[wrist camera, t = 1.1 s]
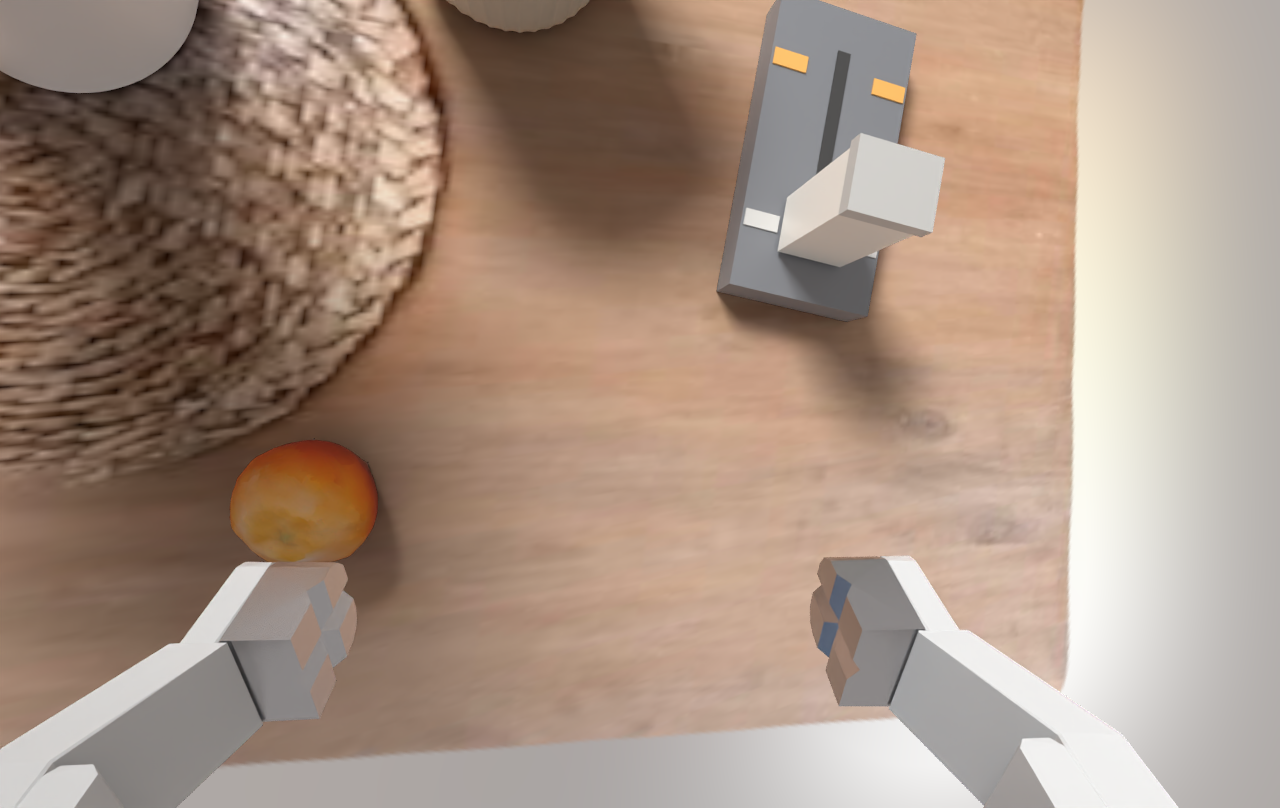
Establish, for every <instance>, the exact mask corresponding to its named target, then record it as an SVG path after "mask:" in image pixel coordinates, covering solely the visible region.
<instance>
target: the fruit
mask: <svg viewBox="0 0 1280 808" xmlns="http://www.w3.org/2000/svg"><path fill="white" fill-rule="evenodd" d="M377 509H378V495H377V489H376V486H375V482H374V479H373V476H372V474H371V472H370V470H369V466H368V462H365V461H364V460H362V459H361V458H360V457H358V456H357V455H356V454H354V453H353V452H352V451H350V450H349V449H347V448H345V447H343V446H341V445H339V444H336V443H332V442H328V441H320V440H315V438H314V439H313V440H305V441H299V442H294V443H289V444H285V445H282V446H279V447H276V448H273V449H271V450H269V451H267V452H265V453H263V454H261V455H259V456H257V457H256V458H254V459H253V460H252V461H251V462H250V463H249V464H248V466H247V467H246V468H245V469H244V471H243V472H242V473H241V474H240V475H239V476H238V478H237V480H236V485H235V487H234V489H233V492H232V497H231V503H230V520H231V527H232V529H233V531H234V532H235V533H236V534H237V536H238V537H239V538H241V539H242V540H243V542H244V543H246V544H247V546H248V547H249V548H250V549H251V550H252V551H253V552H254V553H255V554H257V555H258V556H260V557H261V558H263V559H264V560H266V561H267V562H333V561H337V560H340V559H343V558H346V557H348V556H350V555H351V554H353V552H354V551H355V550H356V549H357V548H358V547H359V546H360V545H362V544H363V542H364V541H365V539H366V538H367V536H368V535H369V533H370V532H371V530H372V528H373V526H374V523H375V520H376V516H377Z"/></svg>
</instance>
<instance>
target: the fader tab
mask: <svg viewBox="0 0 1280 808" xmlns="http://www.w3.org/2000/svg"><path fill="white" fill-rule="evenodd" d="M944 162H945V158H943V157H940V156H936V155H933V154H930V153H926V152H923V151H920V150H916V149H913V148H910V147H906V146H903V145H900V144H896V143H893V142H890V141H886V140H883V139H880V138H876V137H873V136H870V135H866V134H863V133H860V134H859V135H858V136H856V137H855V138H854V139H853V140H851V146H850V148H849V149H848V150H847V151H845V152H844V153H843V154H842V155H840V156H839V157H838V158H837V159H835V160H834V161H833V162H832V163H830V164H829V165H828V166H826V167H825V168H824V169H823V170H821V171H820V172H819V173H818V174H816V175H815V176H814V177H812V178H811V179H810V180H809V181H807V182H806V183H805V184H804V185H802V186H801V187H800V188H799V189H797V190H796V191H795V192H793V193H792V194H791V195H790V196H788V197H787V201H786V206H785V212H784V218H783V223H782V229H781V234H780V240H779V245H778V252H782V253H786V254H790V255H794V256H798V257H802V258H806V259H810V260H813V261H817V262H821V263H825V264H829V265H833V266H837V267H842V266H844V265H847V264H849V263H851V262H853V261H856V260H858V259H860V258H863V257H865V256H867V255H870V254H872V253H874V252H876V251H879V250H881V249H883V248H886V247H888V246H890V245H893V244H895V243H897V242H899V241H902V240H904V239H906V238H909V237H911V236H913V235H915V236H919V237H923V236H925V235H928V234H930V233H932V232H933V226H934V220H935V215H936V209H937V203H938V197H939V191H940V185H941V179H942V173H943V168H944Z"/></svg>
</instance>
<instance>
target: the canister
mask: <svg viewBox="0 0 1280 808" xmlns="http://www.w3.org/2000/svg"><path fill="white" fill-rule="evenodd" d="M446 1H447V2H449V3H450V4H452V5H454V6H455V7H456V8H457V9H458V10H459V11H460V12H461V13H462V14H466V15H468V16H470V17H471V18H473V20H475V21H476V22H481V23H484V24H486V25H488V26H489V27H490V28H499V29H502V30H503V31H516V32H519V33H521V32H525V31H532V32H536V31H538V30H540V29H549V28H551V27H552V26H554V25H557V24H562V23H563V22H564V21H565V20H566V19H567V18H570V17H573V16H575V15H576V14H577V12H578V11H579V10H580V9H581V8H583V7H585V6H586V5H587V4H588V2H589V0H446Z"/></svg>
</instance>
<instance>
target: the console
mask: <svg viewBox="0 0 1280 808" xmlns="http://www.w3.org/2000/svg"><path fill="white" fill-rule="evenodd" d="M915 40H916V33H913V32H910V31H907V30H904V29H901V28H898V27H895V26H892V25H890V24H887V23H884V22H881V21H878V20H875V19H872V18H869V17H866V16H863V15H860V14H857V13H854V12H851V11H848V10H845V9H843V8H840V7H837V6H834V5H831V4H828V3H825V2H822V1H819V0H776V1H775V3H774V4H773V6H772V7H771V9H770V11H769V12H768V14H767V17H766V23H765V28H764V34H763V39H762V45H761V50H760V56H759V61H758V67H757V72H756V78H755V83H754V88H753V94H752V99H751V105H750V110H749V116H748V121H747V127H746V132H745V138H744V143H743V149H742V154H741V160H740V165H739V171H738V176H737V181H736V187H735V192H734V198H733V203H732V209H731V214H730V220H729V225H728V231H727V236H726V242H725V247H724V253H723V258H722V264H721V269H720V275H719V280H718V285H717V292H722V293H726V294H730V295H734V296H739V297H743V298H747V299H751V300H756V301H760V302H764V303H768V304H773V305H777V306H781V307H785V308H790V309H794V310H798V311H803V312H807V313H811V314H815V315H820V316H824V317H828V318H832V319H837V320H841V321H845V322H848V321H852V320H856V319H859V318H863V317H867V316H868V311H869V305H870V299H871V294H872V288H873V282H874V276H875V271H876V265H877V259H878V253H879V251H876V252H874V253H872V254H870V255H867V256H865V257H863V258H860V259H858V260H856V261H853V262H851V263H849V264H847V265H844V266H842V267H837V266H833V265H829V264H825V263H821V262H817V261H813V260H810V259H806V258H802V257H798V256H794V255H790V254H786V253H782V252H778V245H779V240H780V234H781V229H782V223H783V218H784V212H785V206H786V201H787V197H788V196H790V195H791V194H792V193H793V192H795V191H796V190H797V189H799V188H800V187H801V186H802V185H804V184H805V183H806V182H807V181H809V180H810V179H811V178H812V177H814V176H815V175H816V174H818V173H819V172H820V171H821V170H823V169H824V168H825V167H826V166H828V165H829V164H830V163H832V162H833V161H834V160H835V159H837V158H838V157H839V156H840V155H842V154H843V153H844V152H845V151H847V150H848V149H849V148H850V146H851V140H853V139H854V138H855V137H856V136H858V135H859V134H860V133H863V134H866V135H870V136H873V137H876V138H880V139H883V140H886V141H890V142H893V143H896V144H898V138H899V132H900V126H901V121H902V115H903V109H904V103H905V97H906V92H907V86H908V80H909V74H910V69H911V63H912V57H913V51H914V46H915Z"/></svg>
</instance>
